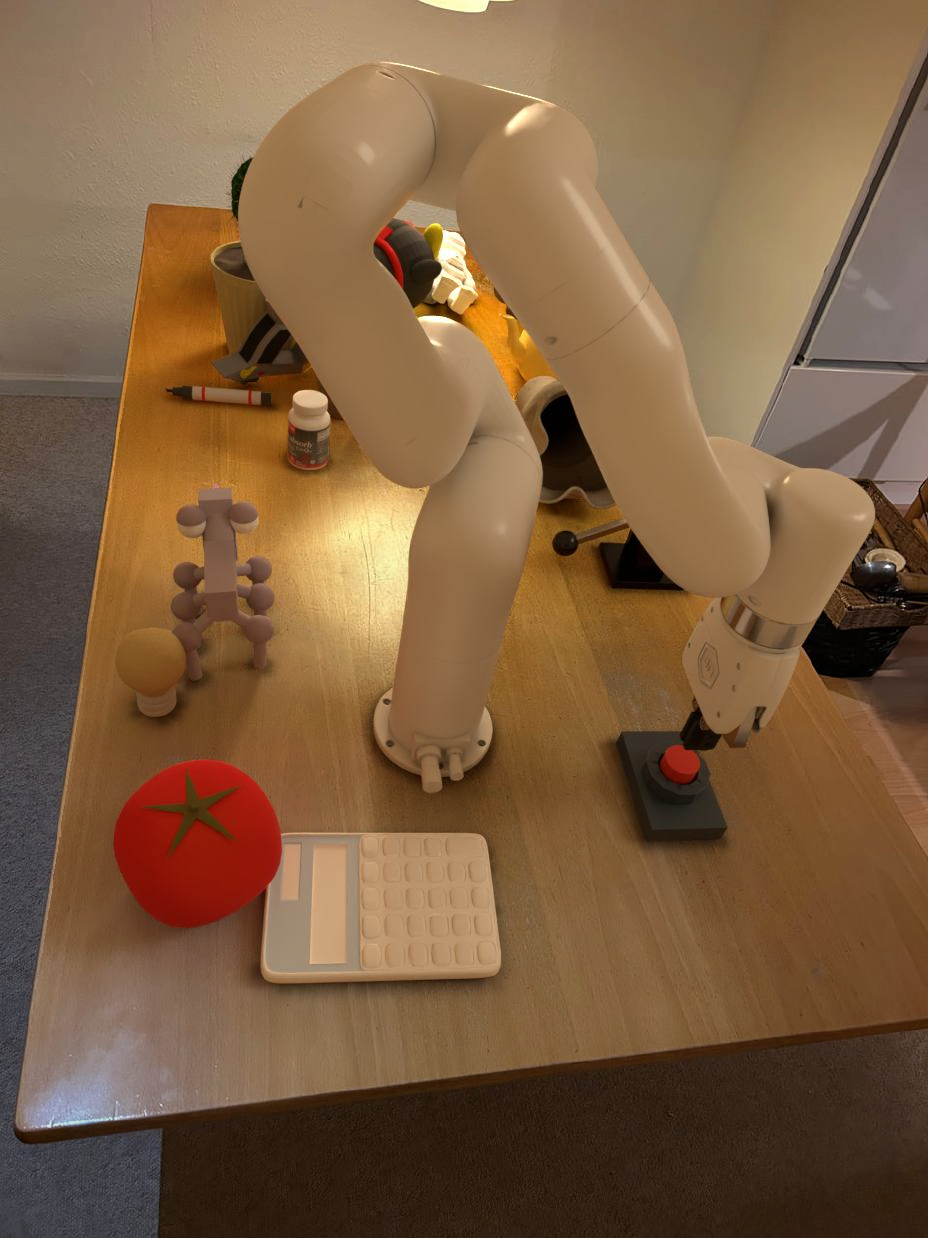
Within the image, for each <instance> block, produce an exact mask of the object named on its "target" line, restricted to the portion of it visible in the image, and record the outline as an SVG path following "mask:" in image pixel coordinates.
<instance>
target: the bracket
mask: <svg viewBox="0 0 928 1238" xmlns="http://www.w3.org/2000/svg"><path fill="white" fill-rule="evenodd" d="M597 550H598V553H599V555H600V558H601V561H602V563H603V566H604V569H605V572H606V575H607V578H608V581H609V584H610V586H611V589H622V590H623V589H624V590H654V591H656V590H657V591H684V590H685V589H683V588H681V587H680V586H678V585H677V584H676V583H674V582H673V581H672V580H671V579H670V578H668V577H667V576H666V574H665V573H664V572H663V571H662V570H661V569H660V568H659V566H658V565H657V564H656V563H655V561H654V560H653V559H652V557H651V556H650V555H649V553H648V552H647V550H646V549H645V548H644V546H643V545H642V544H641V542H640V541H639V539H638V538H637V536H636V535H635V534H634V532H633V531H632V530H631V528H629V531H628V534H627V537H626V540H625V542H610V541H609V542H608V541H599V545H598V548H597Z"/></svg>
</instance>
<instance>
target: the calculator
mask: <svg viewBox="0 0 928 1238" xmlns="http://www.w3.org/2000/svg"><path fill="white" fill-rule="evenodd" d="M281 840H282V854H281V861H280V865H279V868H278V870H277V872H276V875H275V877H274V879H273V880H272V881H271V882H270V883H269V885H268V886H267V887H266V888H265V894H264V895H265V896H264V910H263V923H262V934H261V947H260V973H261V975H262V977H263V979H264V980H265V981H267V982H269V983H273V984H314V983H315V984H318V983H319V984H320V983H322V984H323V983H348V982H349V983H354V982H355V983H356V982H357V983H358V982H391V981H417V980H418V981H422V980H423V981H424V980H425V981H427V980H428V981H429V980H461V979H483V978H490V977H494V976H495V975H497V974H498V973H499V972H500V969H501V967H502V951H501V950H502V949H501V941H500V934H499V926H498V925H499V924H498V918H497V911H496V910H497V909H496V901H495V894H494V893H495V892H494V887H493V885H494V884H493V878H492V877H493V876H492V870H491V869H492V868H491V861H490V854H489V848H488V843H487V840H486V838H485V837H484V836H483V835H481V834H479V833H473V832H283V833H281Z"/></svg>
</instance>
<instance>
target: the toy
mask: <svg viewBox="0 0 928 1238" xmlns="http://www.w3.org/2000/svg"><path fill="white" fill-rule="evenodd" d="M403 220H404V219H400V218H396V217H394V218H393V219H392V220H391V221H390V222H389V223H388V224H387V225H386V226H385V228H384V229H383V230H382V231H381V232H380V233H379V235H378V236H377V238H376V239H375V241H374V244H373V252H374V255H375V257H376V259H377V260H378V261H379V262H380V263H381V264H382V265H383V266H384V267H385V268H386V269H387V270H388V271H389V272H390V273H391V274H392V275H393V277H394V278H395V279H396V281H397V282H398V283H399V284H400V286H401V288H402V289H403V291H404V292H405V294H406V296H407V297H408V299H409V301H410V303H411V306H412V308H413V310H414V309H415V308H417V307H418V306H420V305H421V304H422V303H424V302H423V301H424V300H425V298H426V297H427V295H428V294H429V292H430V291H431V289H432V286H433V283H434V279H435V278H437V277H438V276H439V275H440V274H441V271H442V266H441V264H440V263H439V262H438V261H436V259H437V258H438V255H439V252H440V248H441V245H442V242H443V236H444V235H443V231H444V230H443V227H442V226H441V225H440V224H439V223H432V224H430V225H428V226H427V227H426V228H425V230H424V232H423V233H422V232H420V231H419V230H418V229H416V227H415V228H413V227H412V226H411V225H410V224H408V223H407V222H405V221H403Z"/></svg>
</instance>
